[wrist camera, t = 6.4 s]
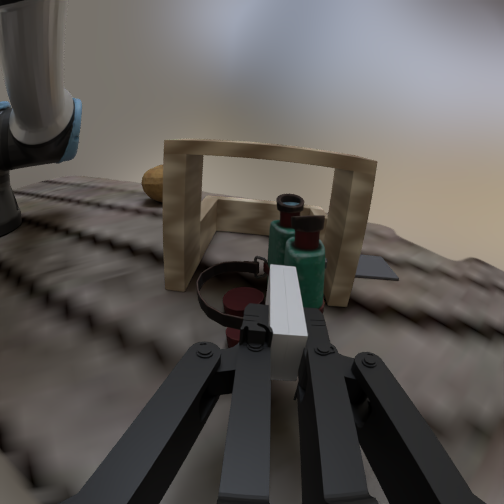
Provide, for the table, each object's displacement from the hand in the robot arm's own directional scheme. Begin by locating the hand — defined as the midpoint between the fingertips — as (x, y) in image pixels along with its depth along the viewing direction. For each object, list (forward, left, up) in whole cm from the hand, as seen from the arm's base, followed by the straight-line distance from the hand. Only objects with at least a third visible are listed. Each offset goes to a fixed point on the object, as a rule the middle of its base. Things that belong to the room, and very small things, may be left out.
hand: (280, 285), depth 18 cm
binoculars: (-1, +4, -7) cm, 8 cm away
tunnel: (-1, +19, -6) cm, 20 cm away
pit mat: (+13, +19, -6) cm, 24 cm away
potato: (-22, +44, -7) cm, 50 cm away
